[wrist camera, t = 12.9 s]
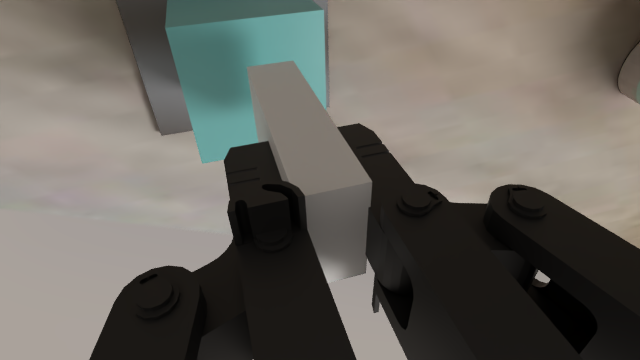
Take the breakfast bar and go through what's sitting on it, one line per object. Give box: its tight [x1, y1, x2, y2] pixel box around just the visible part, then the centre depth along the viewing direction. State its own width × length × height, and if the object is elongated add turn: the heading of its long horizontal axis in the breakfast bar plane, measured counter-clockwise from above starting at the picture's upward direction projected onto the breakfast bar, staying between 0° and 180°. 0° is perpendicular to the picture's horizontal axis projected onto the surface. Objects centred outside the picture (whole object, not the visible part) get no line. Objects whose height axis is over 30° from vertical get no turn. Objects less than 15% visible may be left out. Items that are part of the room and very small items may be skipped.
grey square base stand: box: [116, 0, 329, 136], centre depth 17 cm, size 10×10×7 cm
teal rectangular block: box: [165, 0, 326, 163], centre depth 16 cm, size 5×5×7 cm
